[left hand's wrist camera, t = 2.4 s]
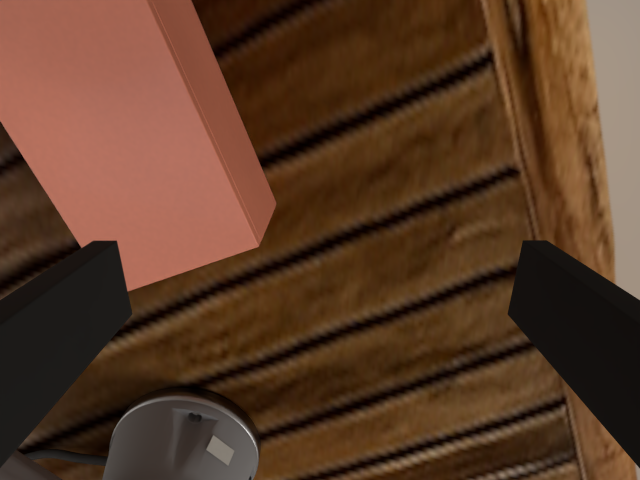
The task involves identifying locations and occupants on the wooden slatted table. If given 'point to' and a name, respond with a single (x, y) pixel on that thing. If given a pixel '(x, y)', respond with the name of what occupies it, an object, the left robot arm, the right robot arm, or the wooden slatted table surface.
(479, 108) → the wooden slatted table surface
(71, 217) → the cabinet
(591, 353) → the left robot arm
